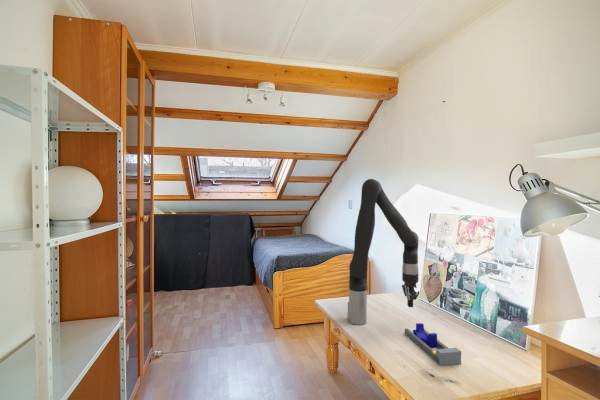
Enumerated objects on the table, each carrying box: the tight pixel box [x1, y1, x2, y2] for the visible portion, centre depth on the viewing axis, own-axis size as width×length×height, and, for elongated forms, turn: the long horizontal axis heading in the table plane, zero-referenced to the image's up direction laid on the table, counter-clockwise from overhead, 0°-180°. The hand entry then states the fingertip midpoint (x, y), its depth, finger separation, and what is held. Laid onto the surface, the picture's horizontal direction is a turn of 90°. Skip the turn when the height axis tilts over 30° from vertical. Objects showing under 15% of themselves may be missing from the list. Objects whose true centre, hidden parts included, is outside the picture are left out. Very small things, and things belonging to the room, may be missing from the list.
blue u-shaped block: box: [412, 322, 438, 349], centre depth 142 cm, size 12×4×6 cm, turn 10°
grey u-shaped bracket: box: [404, 328, 462, 367], centre depth 136 cm, size 9×28×5 cm, turn 10°
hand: (410, 306), depth 154 cm, fingers closed
